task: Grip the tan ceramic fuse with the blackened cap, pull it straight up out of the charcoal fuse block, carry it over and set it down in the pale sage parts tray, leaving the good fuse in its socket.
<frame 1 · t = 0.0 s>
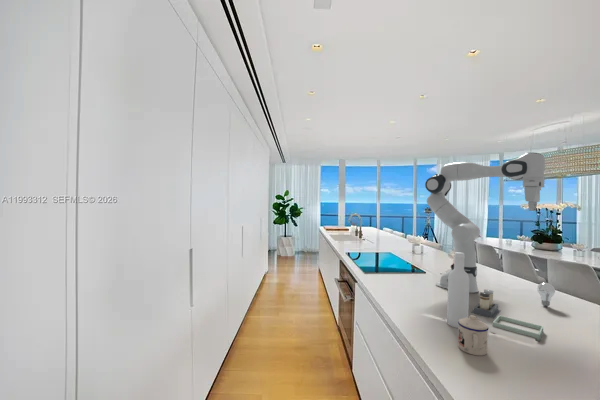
hand: (532, 210, 153), 48 cm above the counter, fingers open, 8 cm apart
parts tray: (517, 330, 119), on the counter
light bulb: (545, 307, 148), on the counter
bottle: (457, 325, 123), on the counter
blown fuse: (484, 313, 134), point 1 cm above the counter, touching fuse block
good fuse: (488, 309, 139), point 1 cm above the counter, touching fuse block
fuse block: (486, 313, 136), on the counter
teacup with lid: (472, 352, 101), on the counter
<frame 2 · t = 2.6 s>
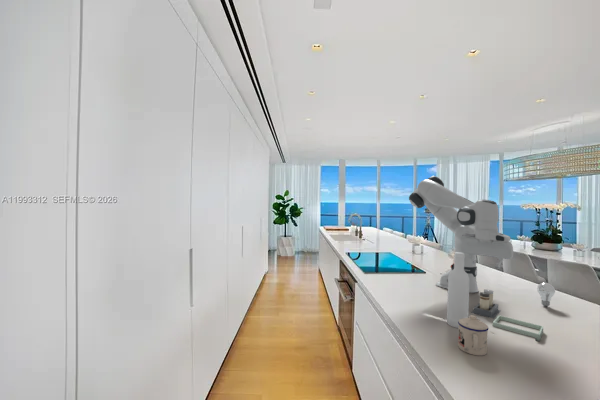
hand: (485, 265, 134), 23 cm above the counter, fingers open, 8 cm apart
nothing on the counter moved.
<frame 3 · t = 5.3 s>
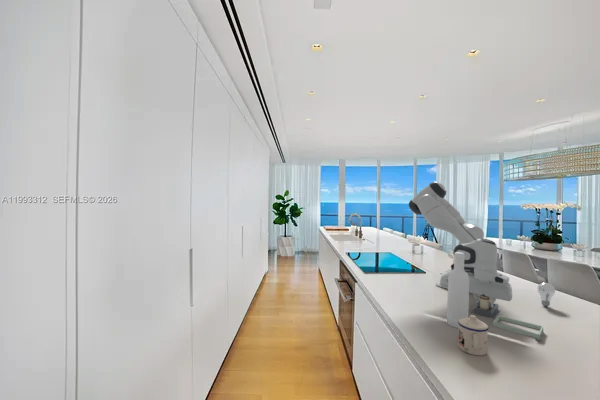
hand: (484, 305, 134), 5 cm above the counter, fingers closed on blown fuse, 4 cm apart
blown fuse: (484, 313, 134), point 1 cm above the counter, touching fuse block, gripper
everything else where it was.
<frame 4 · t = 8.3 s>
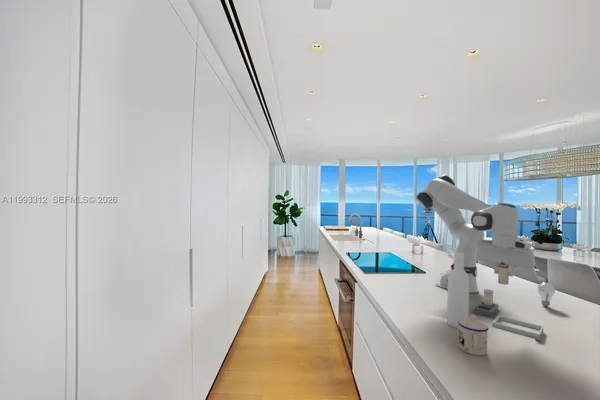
hand: (503, 274, 123), 21 cm above the counter, fingers closed on blown fuse, 4 cm apart
blown fuse: (503, 283, 123), point 18 cm above the counter, touching gripper
everything else where it was.
when the fingers open (6 cm above the counter, at t = 11.7 s): blown fuse drops 2 cm, resting on parts tray.
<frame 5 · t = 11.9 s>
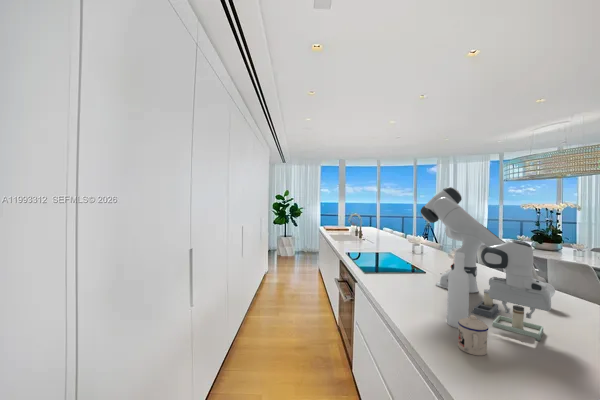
hand: (517, 315, 119), 6 cm above the counter, fingers open, 5 cm apart
blown fuse: (517, 329, 119), point 1 cm above the counter, touching parts tray
everything else where it was.
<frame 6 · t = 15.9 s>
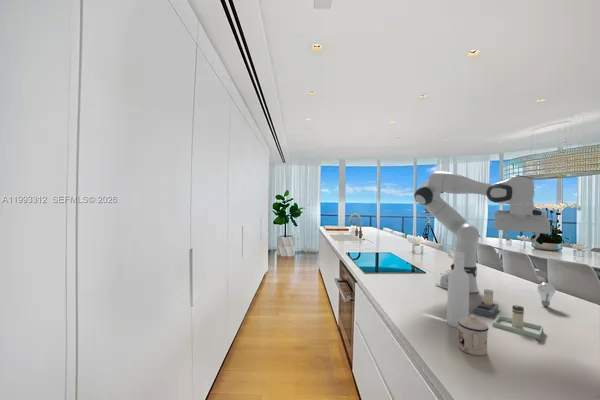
hand: (520, 241, 133), 34 cm above the counter, fingers open, 8 cm apart
nothing on the counter moved.
at the end: blown fuse inside the target area on the parts tray (0.0 cm from its centre), point 0.5 cm above the parts tray's base; blown fuse touching parts tray; the gripper is holding nothing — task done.
